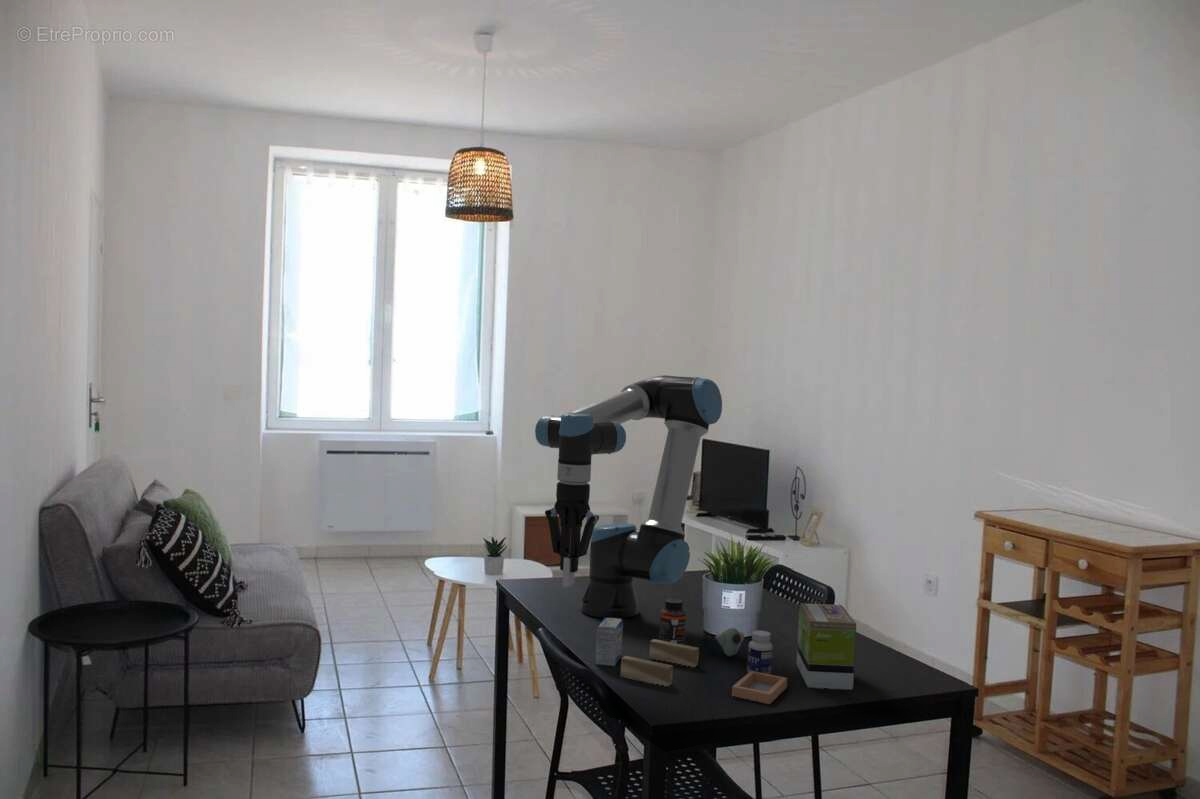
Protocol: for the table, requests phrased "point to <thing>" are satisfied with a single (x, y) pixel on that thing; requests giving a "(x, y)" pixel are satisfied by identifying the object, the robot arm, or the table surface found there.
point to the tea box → (826, 646)
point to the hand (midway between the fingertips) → (568, 585)
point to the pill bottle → (760, 652)
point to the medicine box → (609, 641)
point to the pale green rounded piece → (730, 641)
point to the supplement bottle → (672, 622)
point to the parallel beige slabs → (659, 671)
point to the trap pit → (759, 687)
